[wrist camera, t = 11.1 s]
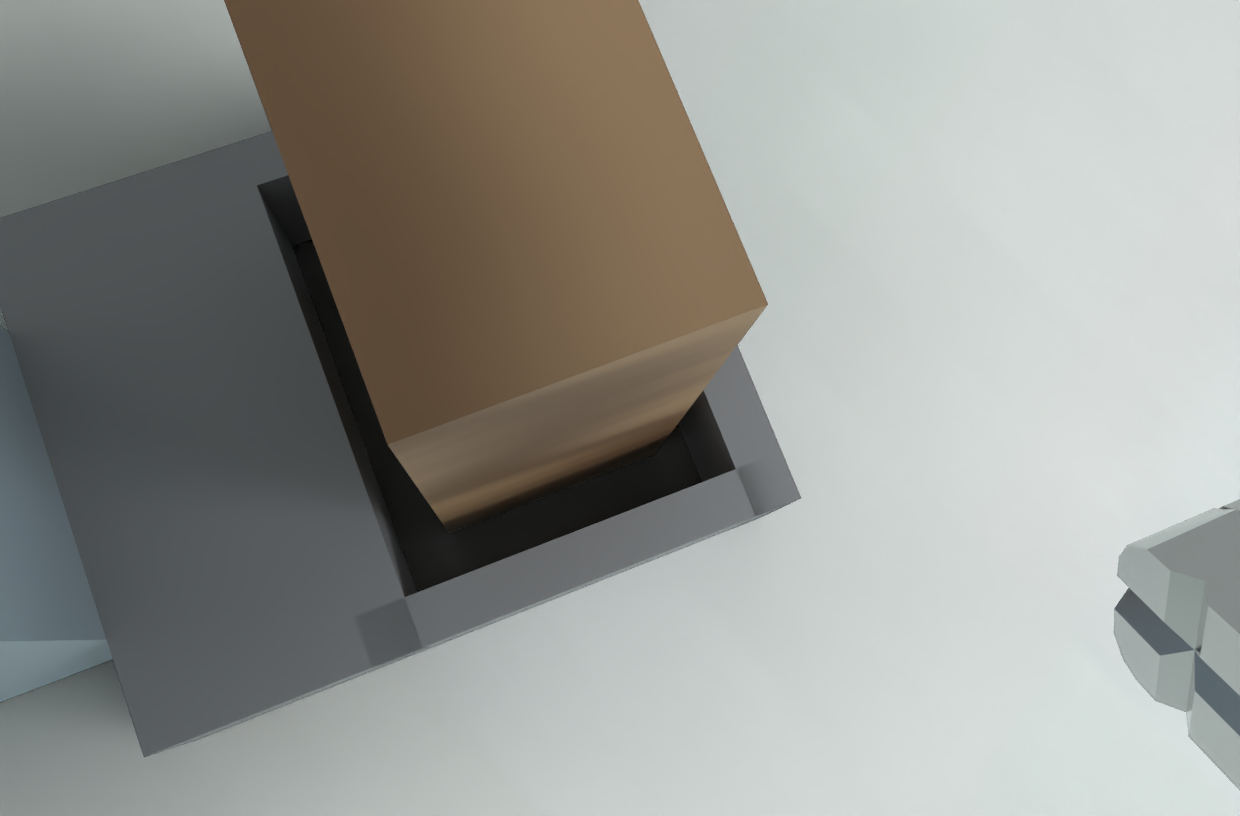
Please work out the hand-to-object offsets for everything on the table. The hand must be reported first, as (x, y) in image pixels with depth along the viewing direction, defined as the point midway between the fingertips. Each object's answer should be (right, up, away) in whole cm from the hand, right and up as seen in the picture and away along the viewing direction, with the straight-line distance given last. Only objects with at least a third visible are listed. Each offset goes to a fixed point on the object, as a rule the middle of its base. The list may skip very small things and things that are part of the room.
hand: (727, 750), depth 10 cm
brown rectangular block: (-3, +4, +11) cm, 12 cm away
